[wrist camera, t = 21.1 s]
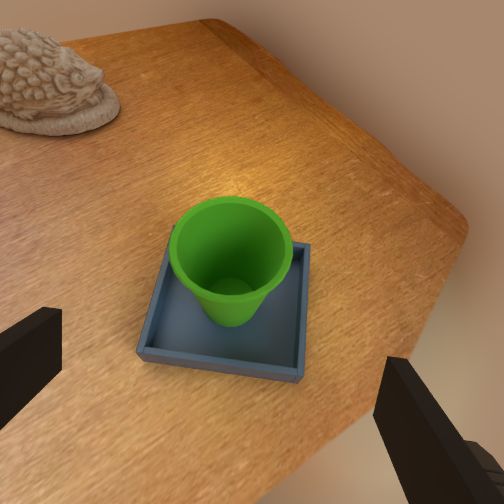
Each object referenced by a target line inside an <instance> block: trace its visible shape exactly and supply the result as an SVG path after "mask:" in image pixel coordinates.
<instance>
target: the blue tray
mask: <svg viewBox="0 0 504 504" xmlns="http://www.w3.org/2000/svg"><path fill="white" fill-rule="evenodd" d="M174 227H175V225H173V228H172V231H173V229H174ZM172 231H171V233H172ZM170 236H171V235H170ZM169 241H170V238H169ZM169 241H168V245H167V248H166V251H165V255H164V258H163V262H162V265H161V268H160V272H159V275H158V278H157V282H156V285H155V289H154V292H153V295H152V299H151V302H150V306H149V309H148V312H147V316H146V319H145V322H144V326H143V329H142V333H141V336H140V339H139V343H138V346H137V349H136V353H137V354H138V356H139V357H140V358H141V359H142V360H143V361H146V362H152V363H159V364H166V365H173V366H180V367H187V368H194V369H201V370H208V371H215V372H222V373H229V374H236V375H242V376H249V377H256V378H263V379H270V380H277V381H284V382H291V383H299V381H300V380H301V379H302V378H303V377H304V366H305V346H306V326H307V305H308V285H309V265H310V244H307V243H300V242H293V241H292V243H293V257H292V261H291V265H290V269H289V270H288V272H287V274H286V275H285V277H284V279H283V280H282V281H281V282H280V283H279V284H278V285H277V286H276V287H275V288H274V289H273V290H272V291H270V292H269V293H268V294H267V296H266V297H265V299H264V300H263V302H262V303H261V305H260V306H259V308H258V309H257V310H256V312H255V313H254V315H253V316H252V318H251V319H250V320H248V321H247V322H246V323H244V324H242V325H239V326H236V327H225V326H221V325H219V324H216V323H215V322H213V321H212V320H211V319H210V318H209V317H208V315H207V314H206V312H205V311H204V309H203V308H202V306H201V305H200V303H199V302H198V300H197V299H196V297H195V296H194V294H193V292H192V291H191V290H189V289H188V288H187V287H185V286H184V285H183V284H182V282H181V281H180V280H179V279H178V277H177V276H176V275H175V273H174V271H173V268H172V266H171V263H170V261H169V251H168V246H169Z"/></svg>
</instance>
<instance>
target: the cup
mask: <svg viewBox="0 0 504 504" xmlns="http://www.w3.org/2000/svg"><path fill="white" fill-rule="evenodd" d="M168 251H169V261H170V263H171V266H172V268H173V271H174V273H175V275H176V276H177V277H178V279H179V280H180V281H181V282H182V284H183V285H184V286H185V287H187V288H188V289H189V290H191V291H192V292H193V294H194V296H195V297H196V299H197V300H198V302H199V303H200V305H201V306H202V308H203V309H204V311H205V312H206V314H207V315H208V317H209V318H210V319H211V320H212V321H213V322H215V323H216V324H219V325H221V326H225V327H236V326H239V325H242V324H244V323H246V322H247V321H248V320H250V319H251V318H252V316H253V315H254V313H255V312H256V310H257V309H258V308H259V306H260V305H261V303H262V302H263V300H264V299H265V297H266V296H267V294H268V293H269V292H270V291H272V290H273V289H274V288H275V287H276V286H277V285H278V284H279V283H280V282H281V281H282V280H283V279H284V277H285V275H286V274H287V272H288V270H289V269H290V265H291V261H292V257H293V243H292V240H291V236H290V233H289V230H288V229H287V227H286V226H285V224H284V222H283V221H282V219H281V218H280V217H279V216H278V215H277V214H276V213H275V212H274V211H273V210H271V209H270V208H268V207H267V206H265V205H263V204H262V203H259V202H257V201H254V200H251V199H248V198H242V197H236V196H229V197H218V198H214V199H209V200H207V201H204V202H202V203H200V204H197V205H196V206H194V207H193V208H191V209H190V210H189V211H187V212H186V213H185V214H184V215H183V216H182V218H181V219H180V220H179V221H178V222H177V224H176V225H175V227H174V229H173V231H172V233H171V236H170V241H169V246H168Z"/></svg>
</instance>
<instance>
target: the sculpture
mask: <svg viewBox="0 0 504 504" xmlns="http://www.w3.org/2000/svg"><path fill="white" fill-rule="evenodd" d="M104 77H105V75H104V72H103V70H101V69H99V68H97V67H95V66H92V65H90V64H89V63H88V62H86V61H85V60H83V59H82V58H81V57H80V56H78V55H77V54H76V53H75V52H74V51H73V50H72V49H71V48H69V47H64V46H62V45H61V44H60V43H59V42H58V41H57V40H56V39H53V38H52V37H46V36H45V35H43V34H42V33H40V32H38V31H34V32H32V31H30V30H28V29H26V28H24V27H19V31H17V32H15V31H13V30H11V29H2V35H1V36H0V126H2V127H5V128H7V129H13V130H14V131H16V132H21V133H35V134H39V135H50V136H53V135H54V136H58V135H59V136H60V135H70V134H78V133H81V132H84V131H88V130H92V129H96V128H99V127H101V126H102V125H104V124H106V123H108V122H110V121H111V120H112V119H113V118H115V117H116V116H117V114H118V112H119V110H120V103H119V101H118V99H117V96H116V94H115V93H114V92H113V90H112V89H111V88H110V87H109V85H106V84H105V83H104V81H103V79H104Z"/></svg>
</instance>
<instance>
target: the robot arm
mask: <svg viewBox="0 0 504 504" xmlns="http://www.w3.org/2000/svg"><path fill="white" fill-rule="evenodd" d="M61 370H62V309H56V308H49V307H42V308H40V309H39V310H37V311H35V312H34V313H32V314H31V315H29V316H27V317H26V318H24V319H23V320H21V321H19V322H18V323H16V324H15V325H13V326H11V327H10V328H8V329H7V330H5V331H3V332H2V333H0V430H1V429H2V428H3V427H4V426H5V425H6V424H7V423H8V422H9V421H10V420H11V419H12V418H13V417H14V416H15V415H16V414H17V413H18V412H19V411H20V410H21V409H23V408H24V407H25V406H26V405H27V404H28V403H29V402H30V401H31V400H32V399H33V398H34V397H35V396H36V395H37V394H38V393H39V392H40V391H41V390H42V389H43V388H44V387H45V386H46V385H47V384H48V383H49V382H50V381H51V380H52V379H53V378H54V377H55V376H56V375H57V374H58V373H59V372H60V371H61ZM373 417H374V419H375V422H376V424H377V427H378V429H379V432H380V434H381V437H382V439H383V441H384V444H385V447H386V449H387V452H388V454H389V456H390V459H391V461H392V464H393V466H394V468H395V471H396V473H397V476H398V479H399V481H400V483H401V486H402V488H403V491H404V493H405V496H406V498H407V500H408V503H409V504H504V471H503V469H502V468H501V467H500V465H499V464H498V463H497V461H496V460H495V459H494V457H493V456H492V455H491V454H489V453H488V452H487V451H486V450H485V449H483V448H482V447H481V446H480V445H479V444H478V443H476V442H472V441H466V440H463V438H462V437H461V435H460V434H459V432H458V431H457V430H456V428H455V427H454V425H453V424H452V422H451V421H450V420H449V418H448V417H447V415H446V414H445V413H444V411H443V410H442V408H441V407H440V405H439V404H438V403H437V401H436V400H435V398H434V397H433V395H432V394H431V393H430V391H429V390H428V388H427V387H426V385H425V384H424V383H423V381H422V380H421V378H420V377H419V376H418V374H417V373H416V371H415V370H414V368H413V367H412V365H411V364H410V363H409V361H408V360H407V359H404V358H397V357H390V356H387V360H386V364H385V368H384V372H383V377H382V381H381V385H380V389H379V393H378V397H377V401H376V405H375V409H374V413H373Z"/></svg>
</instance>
